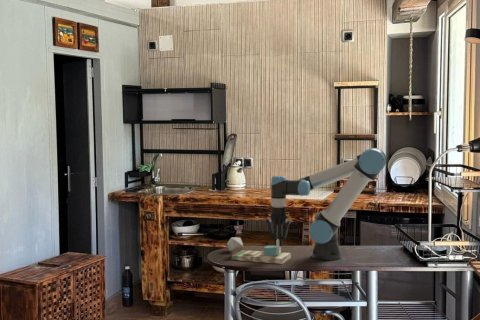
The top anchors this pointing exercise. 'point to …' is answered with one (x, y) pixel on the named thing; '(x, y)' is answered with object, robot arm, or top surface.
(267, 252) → the block
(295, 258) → the top surface
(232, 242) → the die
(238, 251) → the trap board
